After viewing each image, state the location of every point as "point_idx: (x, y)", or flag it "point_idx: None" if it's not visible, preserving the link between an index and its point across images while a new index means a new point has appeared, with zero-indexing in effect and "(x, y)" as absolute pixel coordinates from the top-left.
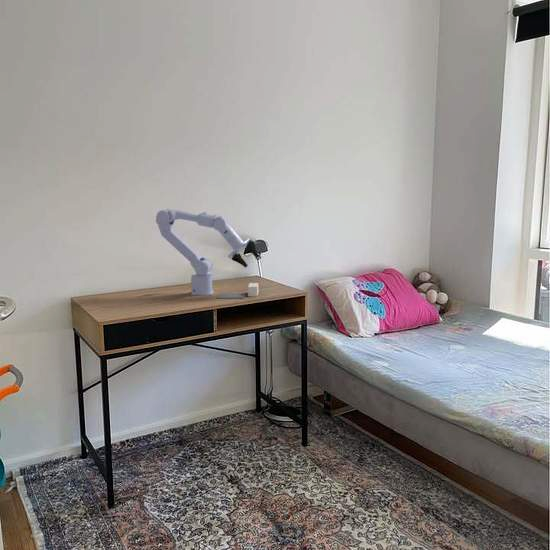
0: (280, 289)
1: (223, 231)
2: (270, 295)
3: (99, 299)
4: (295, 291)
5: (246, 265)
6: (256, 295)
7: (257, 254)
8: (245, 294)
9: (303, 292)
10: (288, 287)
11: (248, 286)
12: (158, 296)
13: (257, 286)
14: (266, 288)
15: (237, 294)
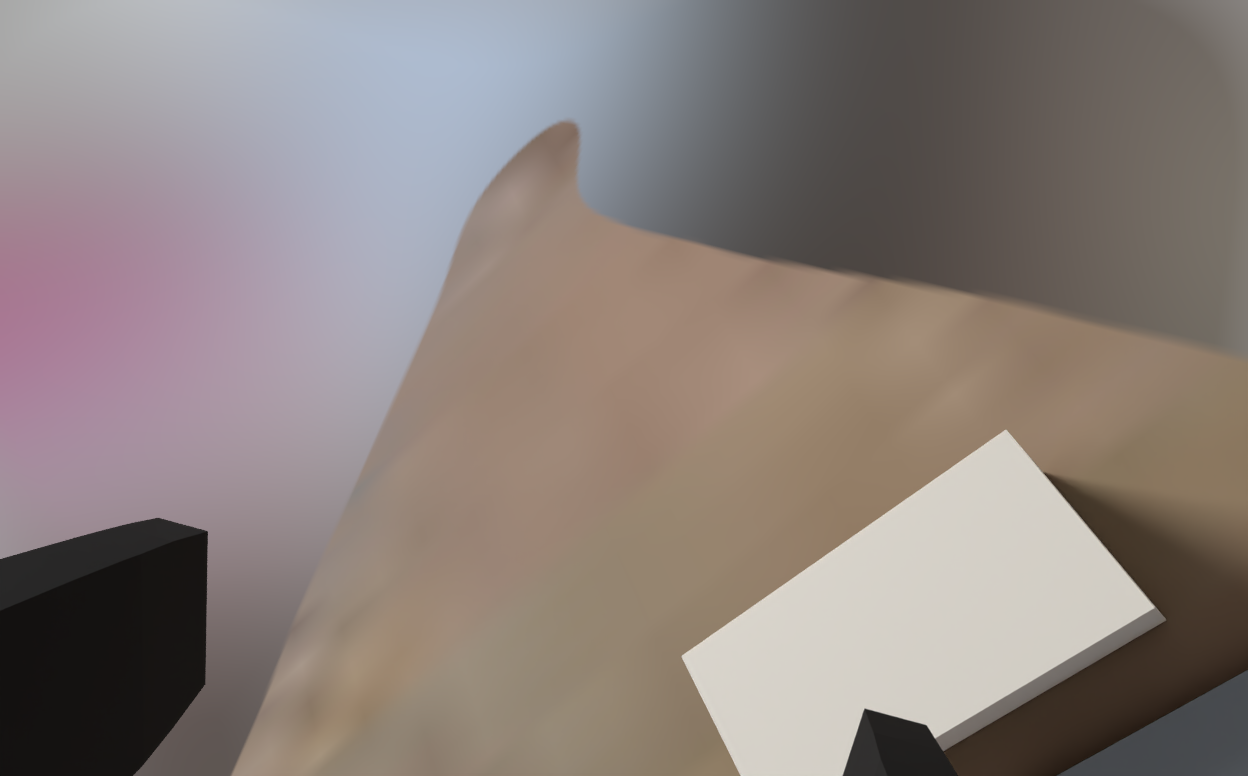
0: (468, 500)
1: None
2: (831, 353)
3: None
4: (493, 272)
5: (934, 742)
6: (1047, 477)
7: (109, 545)
8: (1104, 749)
9: (501, 169)
10: (356, 489)
11: (1104, 629)
12: None
13: (881, 525)
14: (482, 721)
15: None
